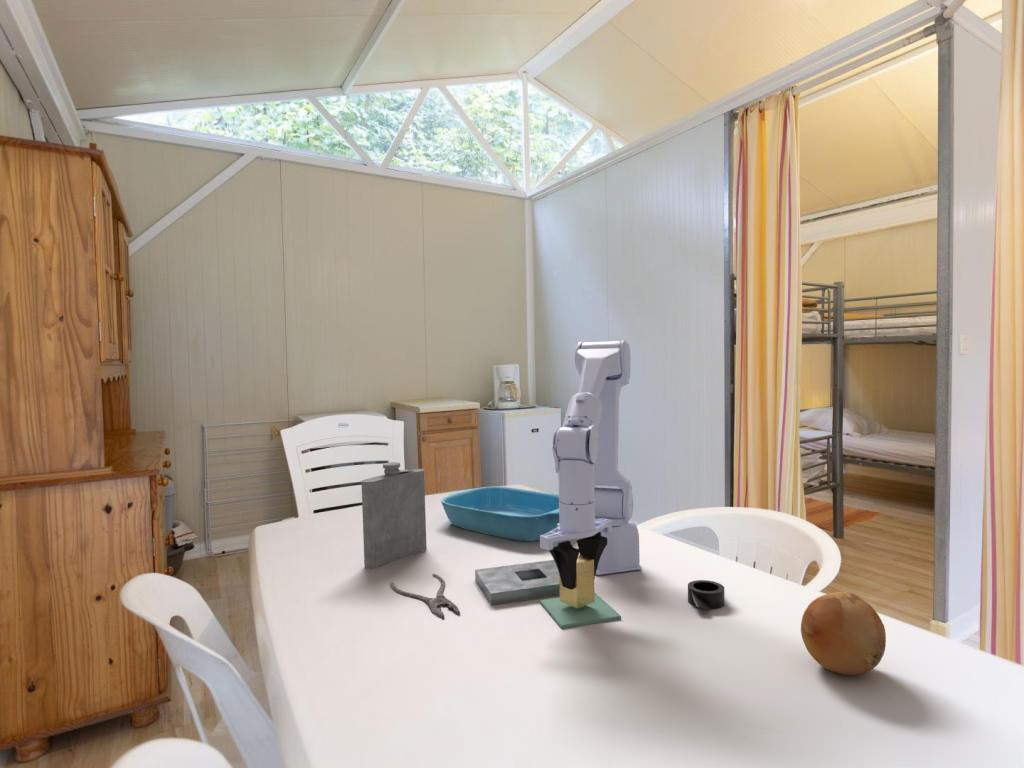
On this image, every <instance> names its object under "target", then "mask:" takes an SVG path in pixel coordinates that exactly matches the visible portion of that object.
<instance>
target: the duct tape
mask: <svg viewBox="0 0 1024 768" xmlns="http://www.w3.org/2000/svg"><path fill="white" fill-rule="evenodd" d="M725 596H726V595H725V587H724V585H723V584H721V583H720V582H717V581H713V580H705V579H699V580H697V579H696V580H693V581H690V582H688V583H687V602H688V604H690V605H691V607H692V606H693V607H695V608H698V609H703V610H706V611H710V610H718V609H723V607H725V603H726V602H725V598H726V597H725Z"/></svg>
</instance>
